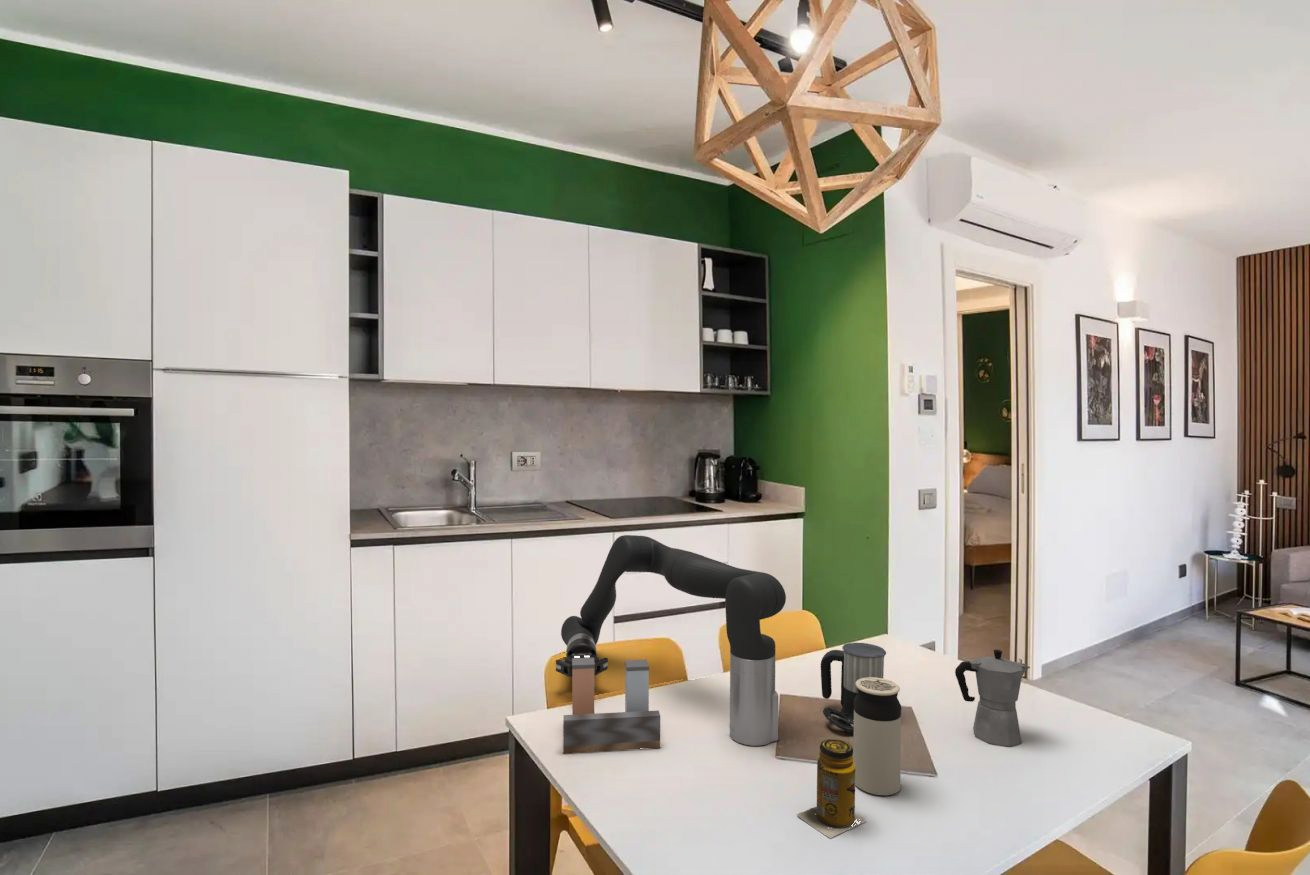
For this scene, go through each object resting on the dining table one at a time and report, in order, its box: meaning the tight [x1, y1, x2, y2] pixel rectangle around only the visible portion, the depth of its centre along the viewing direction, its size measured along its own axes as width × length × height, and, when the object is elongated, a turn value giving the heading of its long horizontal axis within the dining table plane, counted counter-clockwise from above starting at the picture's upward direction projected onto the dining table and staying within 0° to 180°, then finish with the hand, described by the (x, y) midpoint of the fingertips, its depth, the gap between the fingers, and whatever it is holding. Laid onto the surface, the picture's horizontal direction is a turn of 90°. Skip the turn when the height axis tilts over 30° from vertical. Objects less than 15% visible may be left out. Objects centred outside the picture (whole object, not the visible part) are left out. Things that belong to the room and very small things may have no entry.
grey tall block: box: [624, 659, 650, 712], centre depth 140 cm, size 5×4×13 cm
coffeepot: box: [954, 649, 1031, 748], centre depth 139 cm, size 15×9×18 cm, turn 92°
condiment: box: [796, 738, 867, 839], centre depth 110 cm, size 7×8×12 cm
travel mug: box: [853, 677, 902, 796], centre depth 120 cm, size 8×8×18 cm
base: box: [562, 710, 661, 755], centre depth 140 cm, size 19×14×6 cm
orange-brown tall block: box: [571, 658, 595, 715], centre depth 141 cm, size 5×4×13 cm
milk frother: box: [820, 642, 887, 733], centre depth 146 cm, size 14×16×15 cm
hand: (582, 678), depth 152 cm, fingers closed
